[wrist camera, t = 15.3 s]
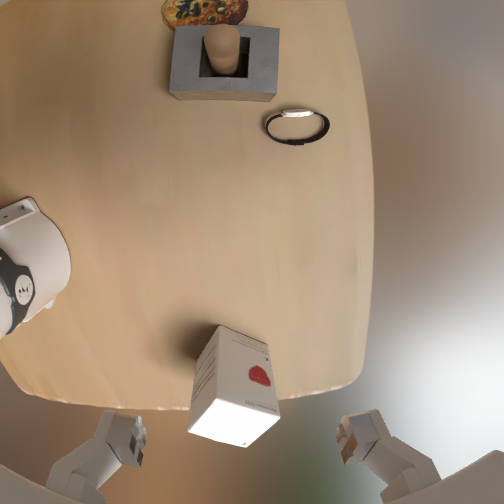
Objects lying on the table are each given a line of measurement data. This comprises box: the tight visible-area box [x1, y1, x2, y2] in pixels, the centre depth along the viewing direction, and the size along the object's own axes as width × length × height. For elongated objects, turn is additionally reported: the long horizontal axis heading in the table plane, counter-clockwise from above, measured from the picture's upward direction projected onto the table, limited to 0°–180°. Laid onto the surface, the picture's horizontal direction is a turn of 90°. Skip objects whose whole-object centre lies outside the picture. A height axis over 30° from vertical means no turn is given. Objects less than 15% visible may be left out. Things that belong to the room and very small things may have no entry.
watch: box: [266, 109, 330, 145], centre depth 31 cm, size 8×5×4 cm, turn 98°
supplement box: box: [187, 325, 280, 447], centre depth 37 cm, size 9×9×15 cm
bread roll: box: [162, 0, 248, 31], centre depth 24 cm, size 11×11×5 cm
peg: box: [204, 24, 240, 78], centre depth 24 cm, size 3×3×12 cm
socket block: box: [169, 25, 280, 102], centre depth 27 cm, size 11×8×6 cm
